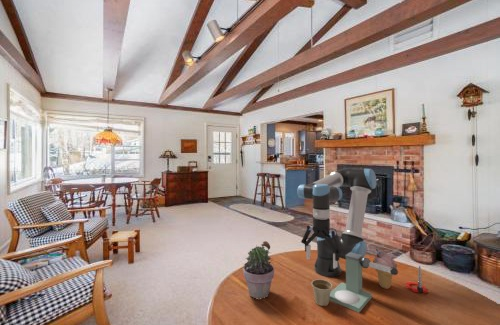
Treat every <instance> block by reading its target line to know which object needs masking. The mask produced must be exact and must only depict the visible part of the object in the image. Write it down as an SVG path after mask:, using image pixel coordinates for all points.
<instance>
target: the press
mask: <svg viewBox="0 0 500 325" xmlns="http://www.w3.org/2000/svg"><path fill="white" fill-rule="evenodd" d="M345 258H346V259H345V283H344V282H340V283H339V284H338V285H337V286H336V287H334V288H332V289H331V291H330V298H329V302H330V301H331V302H333V303H335V304H337V305H340V306H342V307H344V308H347V309H349V310H352V311H354V312H356V313H358V314H360V313H361V311H362V310H363V309H364V308H365V306H367V304H368V303H369V301H370V300H372V298H373V293H371V292H369V291H367V290H364V289H363V267H362V266H361V265H360V261H361V260H362V258H363V255H360V254H356V253H352V252H349V253H348V254H346V255H345Z"/></svg>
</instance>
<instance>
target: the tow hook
mask: <svg viewBox="0 0 500 325" xmlns="http://www.w3.org/2000/svg"><path fill="white" fill-rule="evenodd" d="M417 276H418V277H417V278H418V279H417V280H418V281H417V282H412V281H411V282H406V283H405V287H406V288H407V289H409V290H411V291H412V293H420V294H424V293H425V294H428V293H429V291H428V289H426V287H425V286H424V285H422V284H423V282H422V270H421V266H419V265H418V271H417ZM412 286H415V287H412Z"/></svg>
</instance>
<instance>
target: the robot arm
mask: <svg viewBox="0 0 500 325" xmlns="http://www.w3.org/2000/svg"><path fill="white" fill-rule="evenodd" d="M341 187H348V188H349V189H350V191H351V196H350V202H349V207H348V212H347V213H348V214H347V219H346V222H345V223H346V225H345V229H344V231H343V232H342V233H341V235H339V233H338V231H337V230H336V229H333V230H331V228H330V226H331V220H330V216H331V213H330V212H331V211H330V209H331V208H330V206H331V205H330V204H332V203H336V202H338V201H339V200H341V199H342V198H343V192H342V189H341ZM376 188H377V176H376V173H375V171H374V170H373V169H372V168H365V167H364V168H353V167H352V168H349V167H347V168H345V167H344V168H341V169H337V170H336V171H332V172H331V173H329V175H328V176H325V177H323V178H320V179H318V180H316V181H314V182H312V183H309V184H304V183H303V184H299V186H297V191H296V192H297V196H298V198H300V199H304V200H311V201H312V216H313V218H312V224H309V225H306V231H305V233H304V235H303V236H302V239H301V240H300V242H301V244H303V245H304V251H305V256H306V257H305V258H306V260H308V261H309V260H310V259H312V255H311V253H312V252H311V251H312V249H311V244H310V243H312V242H313V240H314V239H315V238H316V250H317V251H316V252H317V255H316V259H315V263H314V272H316V274H318V275H321V276H324V277H331V278H332V277H338V276H340V275H341V273H342V268H341V264H340V259H343V260H346V258H345V255H346V254H348V253H349V252H352V253H356V254H360V255H363V258H365V257H366V254H367V253H366V252H367V242H366V241H365V238H364V237H363V235H362V233H363V228H364V222H365V221H364V220H365V216H366V215H365V214H366V207H367V202H368V197H369V196H368V195H369V194H371V193H372V190H374V189H376ZM312 231H313V233H312ZM311 233H312V234H311ZM310 234H311V236H310ZM309 236H310V237H309ZM363 258H362V259H363Z"/></svg>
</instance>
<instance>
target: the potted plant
mask: <svg viewBox="0 0 500 325" xmlns="http://www.w3.org/2000/svg"><path fill="white" fill-rule="evenodd" d="M265 248H266V249H265ZM270 249H271V245H270V243H269V242H268V241H263V242H262V243H261V244H260V246H258V245H257V244H256V246H255V247H254V248H250V250H249V251H248V252H247V254H248V257H246V258H245V259H246V260H247V261H246V262H245V263H244V264H243V267H242V268H240V270H241V269H242V272H243V278H244V279H245V282H246V285H247V291H248V294H250V295H251V296H252V297H254V298H258V300H261V299H260V298H264V297H266V296H267V297H268V296H269V295H268V294H270V290H271V285H272V281H273V279H274V277H275V276H274V275H275V267H274V266H275V265H274V262H273V261H271V260H272V259H271V258H272V257H273V256H269V254H271V252H270V251H269V250H270ZM269 260H270V261H269ZM250 295H249V296H250ZM252 297H251V298H252ZM254 298H253V299H254ZM264 299H265V298H264Z"/></svg>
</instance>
